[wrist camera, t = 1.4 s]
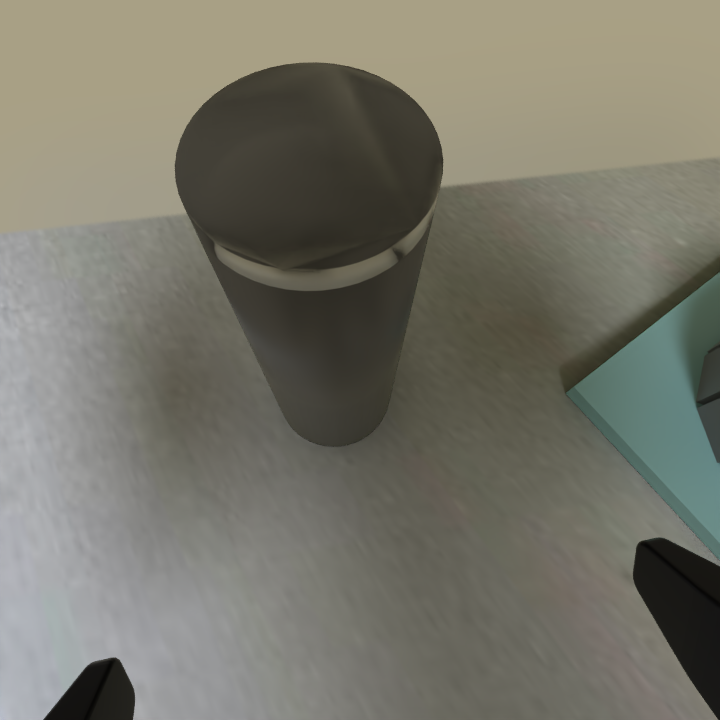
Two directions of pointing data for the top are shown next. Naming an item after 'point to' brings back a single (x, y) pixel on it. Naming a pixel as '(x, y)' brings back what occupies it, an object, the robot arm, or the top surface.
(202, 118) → the plug
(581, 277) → the top surface
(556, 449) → the top surface
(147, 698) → the top surface
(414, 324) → the top surface
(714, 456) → the socket
